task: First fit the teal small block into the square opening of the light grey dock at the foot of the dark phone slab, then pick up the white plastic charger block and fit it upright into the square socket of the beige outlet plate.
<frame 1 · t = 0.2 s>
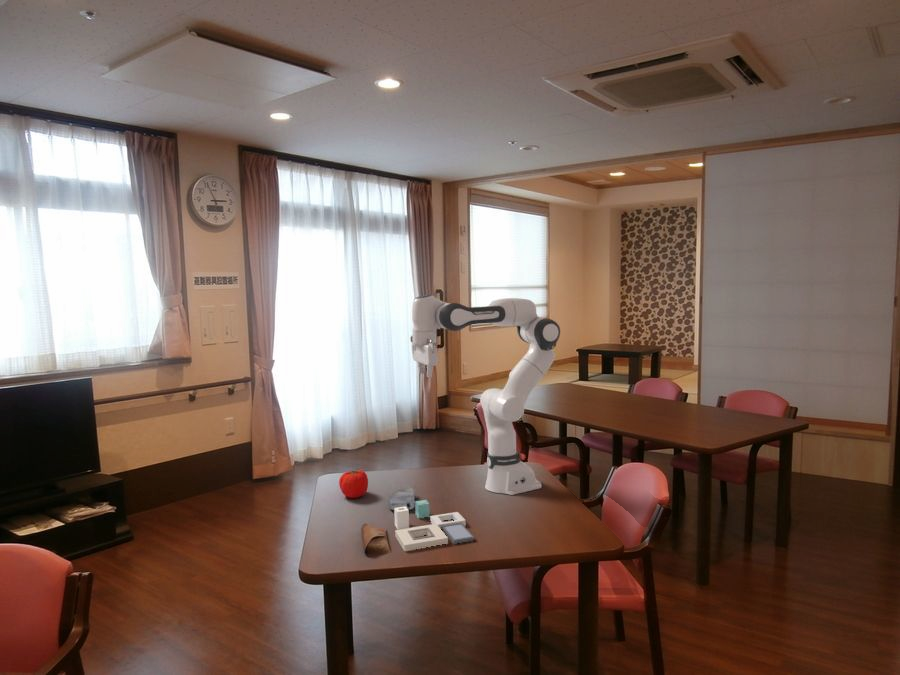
hand: (425, 375, 220), 47 cm above the table, tool pointing down, fingers open, 8 cm apart
sunglasses case: (375, 544, 186), on the table
teal small block: (422, 516, 207), on the table
handheld device: (403, 503, 221), on the table
phone dock: (447, 523, 199), on the table
outlet plate: (421, 540, 187), on the table
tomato: (354, 496, 229), on the table
charger: (401, 526, 198), on the table
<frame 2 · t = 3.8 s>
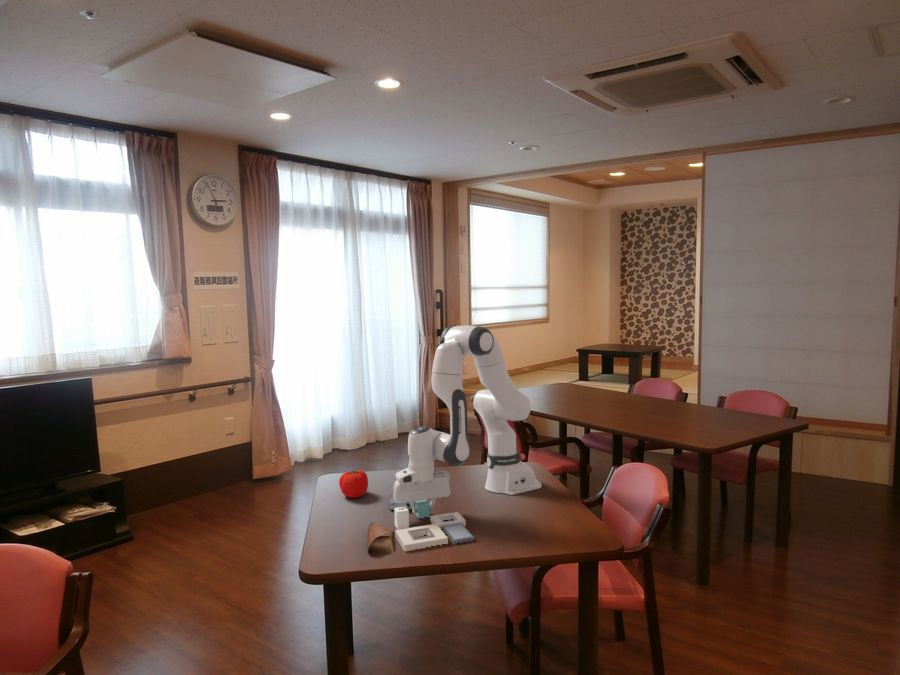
hand: (422, 511, 207), 2 cm above the table, tool pointing down, fingers closed on teal small block, 4 cm apart
sunglasses case: (381, 544, 187), on the table
teal small block: (422, 516, 207), on the table, touching gripper
everything else where it was.
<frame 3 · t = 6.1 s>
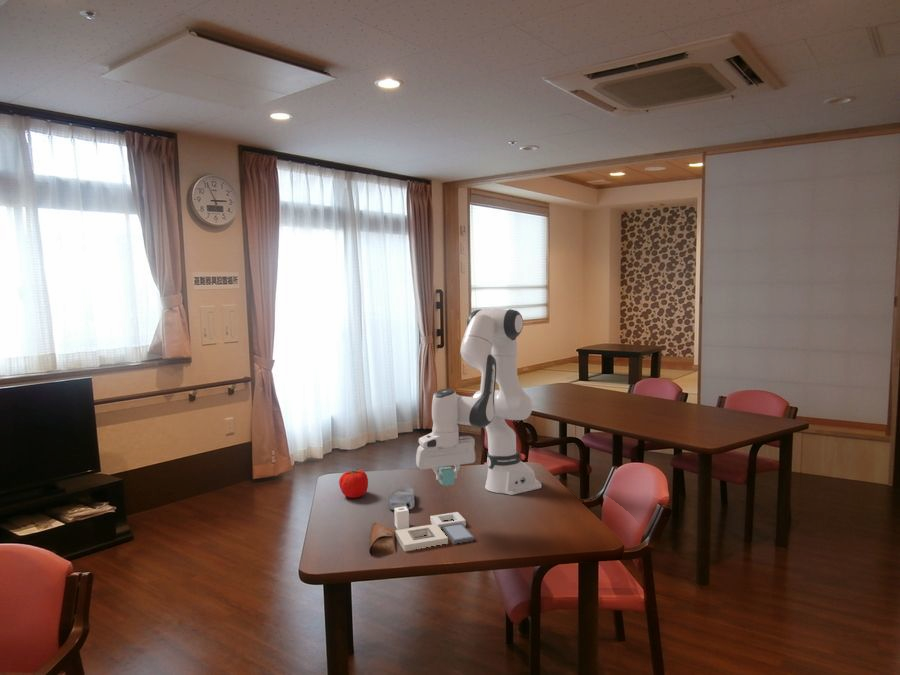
hand: (446, 478, 198), 16 cm above the table, tool pointing down, fingers closed on teal small block, 4 cm apart
sunglasses case: (383, 544, 187), on the table, touching outlet plate
teal small block: (446, 483, 198), point 14 cm above the table, touching gripper
everything else where it was.
when the fingers open (3 cm above the table, at t = 8.8 s): teal small block drops 1 cm, resting in phone dock.
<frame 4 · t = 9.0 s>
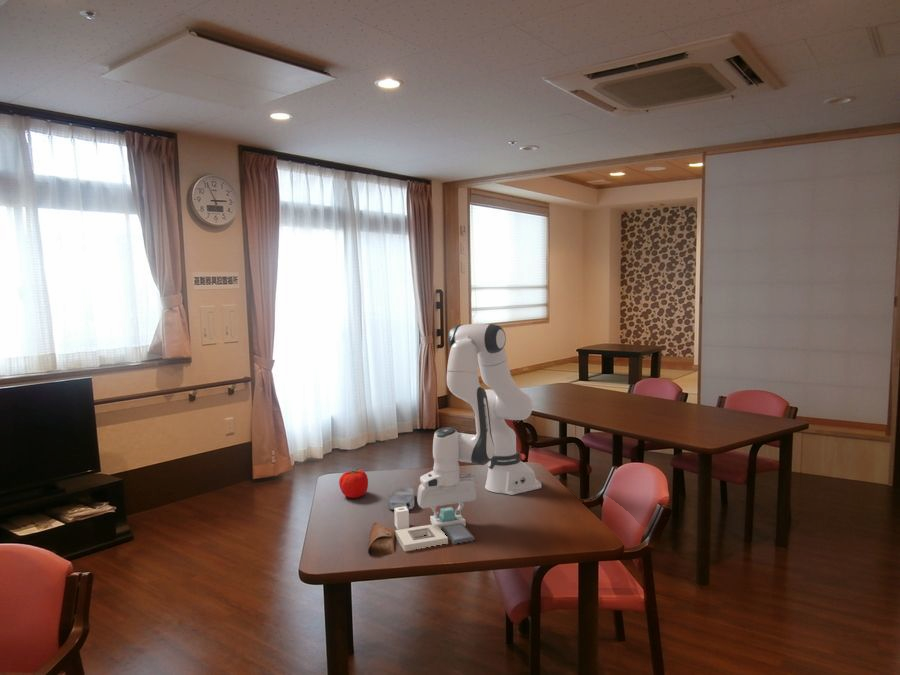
hand: (447, 516, 199), 3 cm above the table, tool pointing down, fingers open, 6 cm apart
sunglasses case: (383, 544, 186), on the table
teal small block: (447, 524, 199), resting in phone dock
everything else where it was.
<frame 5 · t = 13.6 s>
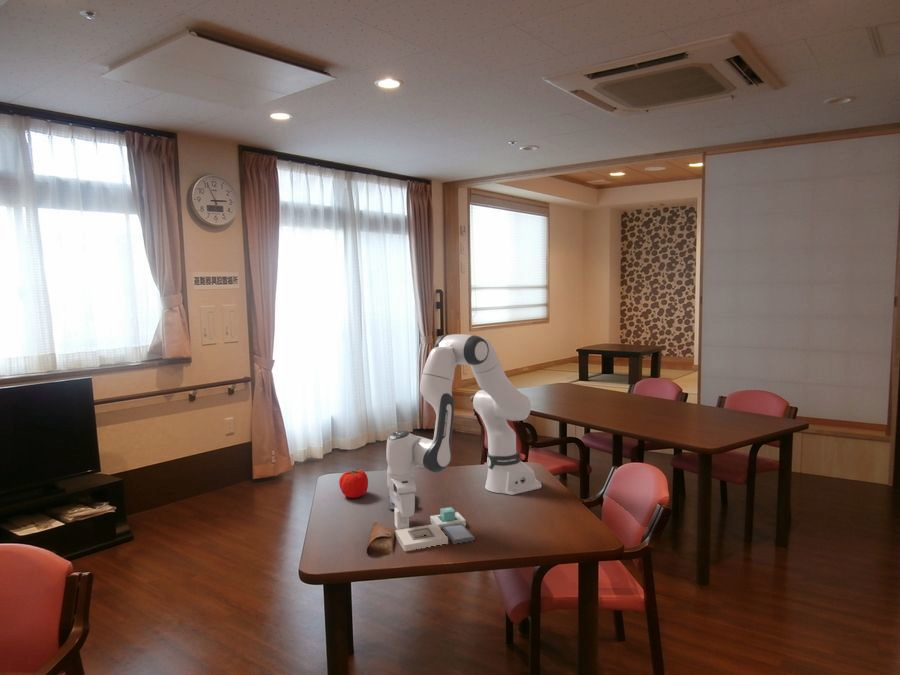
hand: (401, 520, 198), 2 cm above the table, tool pointing down, fingers closed on charger, 4 cm apart
charger: (401, 526, 198), on the table, touching gripper
everything else where it was.
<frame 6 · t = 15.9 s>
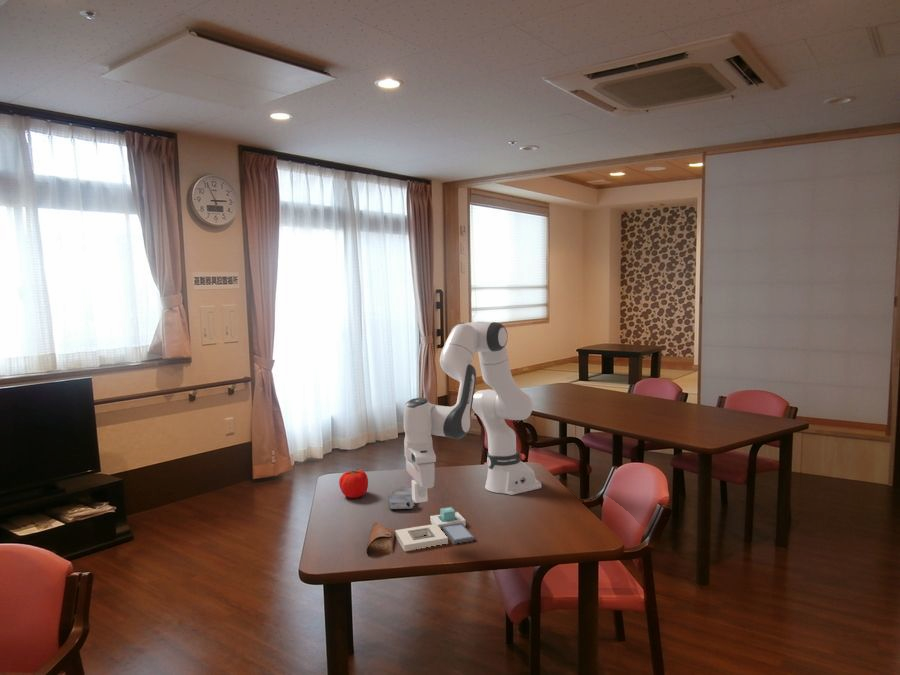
hand: (419, 493, 186), 15 cm above the table, tool pointing down, fingers closed on charger, 4 cm apart
charger: (419, 500, 186), point 13 cm above the table, touching gripper
everything else where it was.
when the fingers open (3 cm above the table, at t = 18.3 s): charger stays where it is, resting in outlet plate.
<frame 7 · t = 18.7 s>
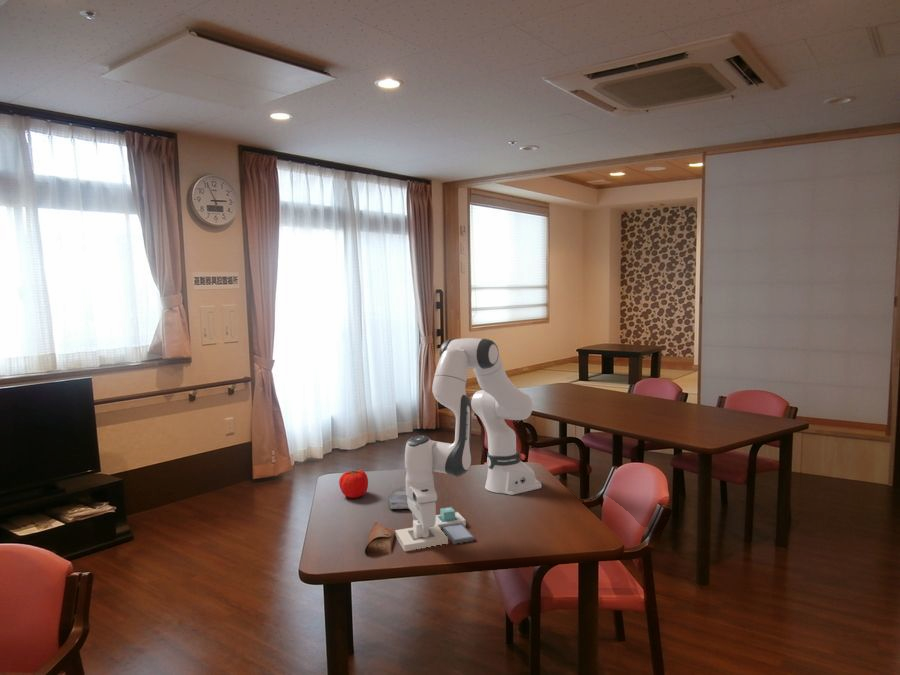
hand: (421, 530, 187), 3 cm above the table, tool pointing down, fingers open, 8 cm apart
charger: (421, 540, 187), resting in outlet plate
everything else where it was.
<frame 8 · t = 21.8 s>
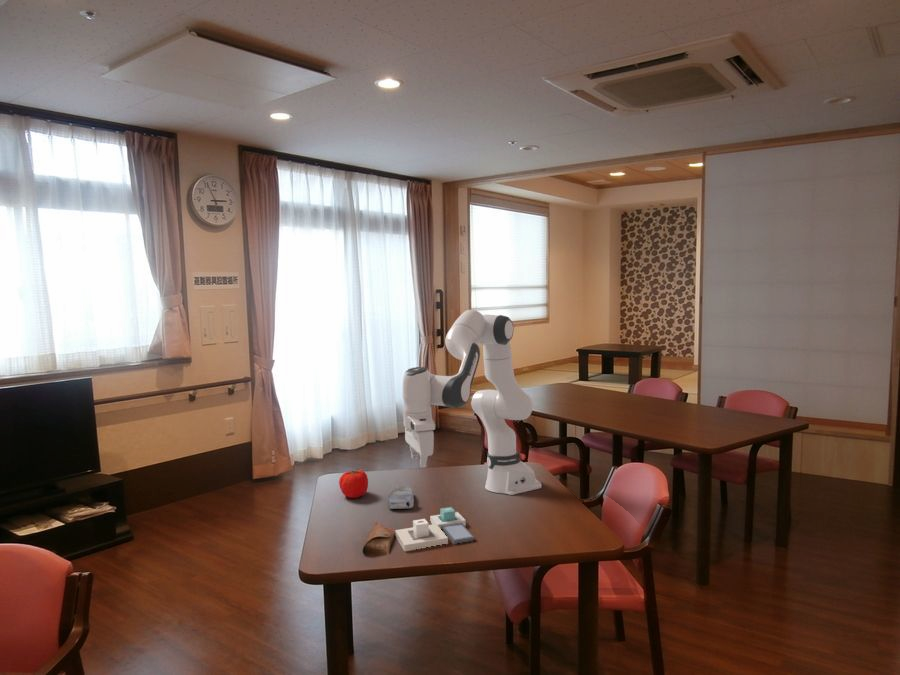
hand: (418, 462, 185), 25 cm above the table, tool pointing down, fingers open, 8 cm apart
at the end: charger 0.0 cm off-centre on the outlet plate, point 0.0 cm above the outlet plate's base; charger tilted 0°; teal small block 0.0 cm off-centre on the phone dock, point 0.0 cm above the phone dock's base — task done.
